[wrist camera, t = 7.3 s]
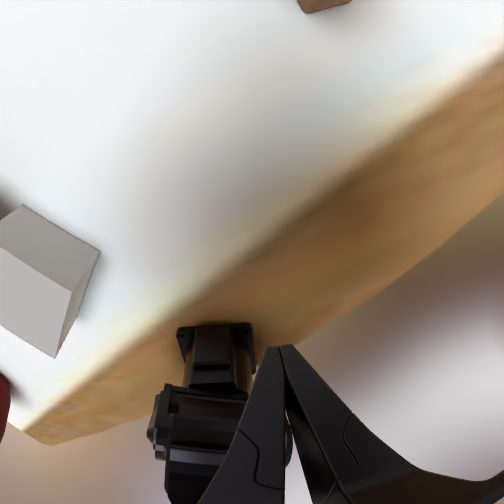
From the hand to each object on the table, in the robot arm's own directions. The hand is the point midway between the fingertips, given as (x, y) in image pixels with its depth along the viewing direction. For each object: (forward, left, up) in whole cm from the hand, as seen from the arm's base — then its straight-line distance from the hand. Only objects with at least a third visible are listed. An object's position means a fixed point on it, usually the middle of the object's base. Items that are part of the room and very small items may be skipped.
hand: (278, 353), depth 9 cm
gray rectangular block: (+2, +23, -13) cm, 26 cm away
